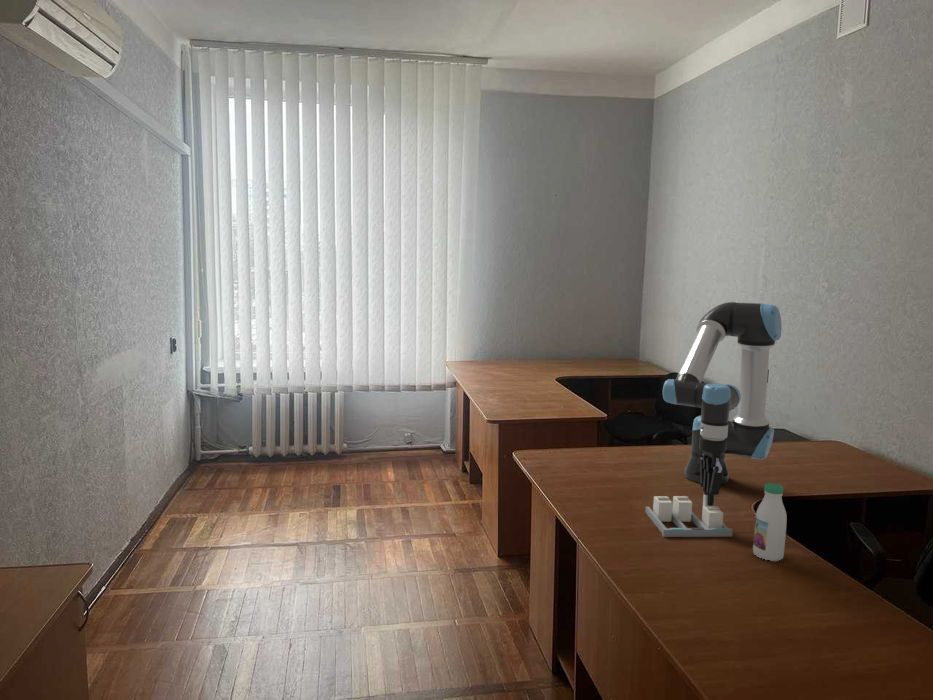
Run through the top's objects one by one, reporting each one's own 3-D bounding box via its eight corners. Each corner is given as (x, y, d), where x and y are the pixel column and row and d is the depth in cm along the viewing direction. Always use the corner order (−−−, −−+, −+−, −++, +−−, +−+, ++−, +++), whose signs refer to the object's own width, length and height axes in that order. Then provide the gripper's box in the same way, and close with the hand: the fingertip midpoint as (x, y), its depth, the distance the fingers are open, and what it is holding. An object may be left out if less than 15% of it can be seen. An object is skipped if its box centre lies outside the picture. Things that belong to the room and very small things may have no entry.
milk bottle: (781, 551, 184) (788, 482, 181) (785, 564, 177) (791, 492, 174) (751, 547, 187) (757, 479, 184) (753, 559, 180) (759, 488, 177)
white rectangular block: (714, 525, 198) (716, 503, 197) (721, 532, 193) (723, 510, 192) (701, 525, 198) (702, 504, 197) (708, 532, 193) (709, 510, 192)
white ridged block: (684, 514, 205) (686, 494, 204) (690, 521, 200) (692, 500, 199) (672, 514, 205) (673, 494, 204) (677, 521, 200) (679, 500, 199)
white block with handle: (665, 514, 205) (666, 494, 204) (671, 521, 200) (672, 500, 199) (652, 515, 205) (654, 494, 204) (658, 521, 200) (659, 500, 199)
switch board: (706, 516, 208) (707, 504, 208) (731, 541, 191) (732, 528, 190) (643, 516, 208) (644, 505, 207) (662, 541, 190) (663, 529, 189)
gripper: (692, 431, 201) (687, 505, 204) (709, 443, 188) (703, 523, 191) (716, 431, 201) (711, 505, 205) (735, 443, 188) (729, 523, 192)
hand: (707, 514), depth 198 cm, fingers closed
